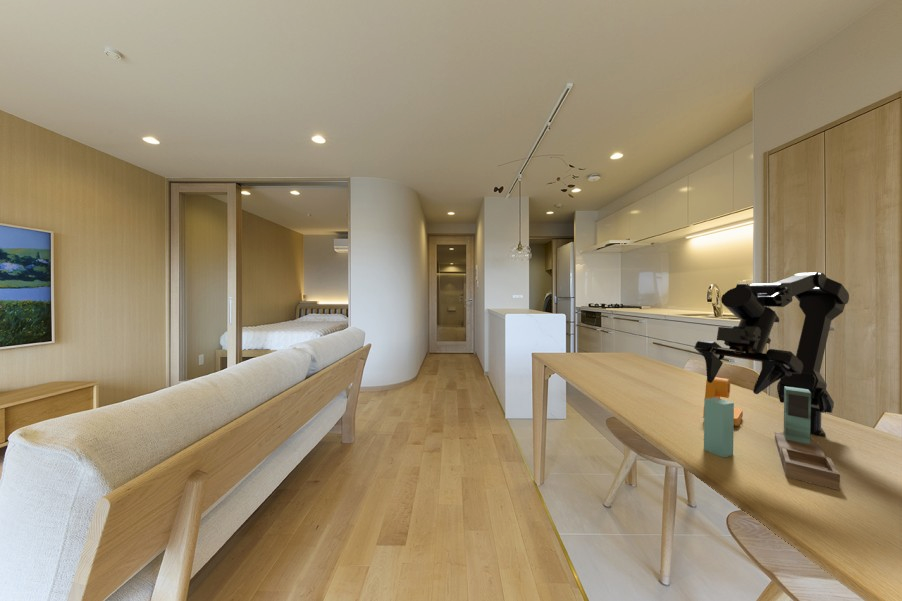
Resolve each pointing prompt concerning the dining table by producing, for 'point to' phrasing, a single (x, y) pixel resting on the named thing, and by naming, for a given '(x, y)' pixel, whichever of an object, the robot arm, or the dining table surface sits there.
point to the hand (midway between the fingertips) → (730, 387)
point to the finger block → (718, 426)
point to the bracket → (722, 395)
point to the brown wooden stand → (803, 443)
